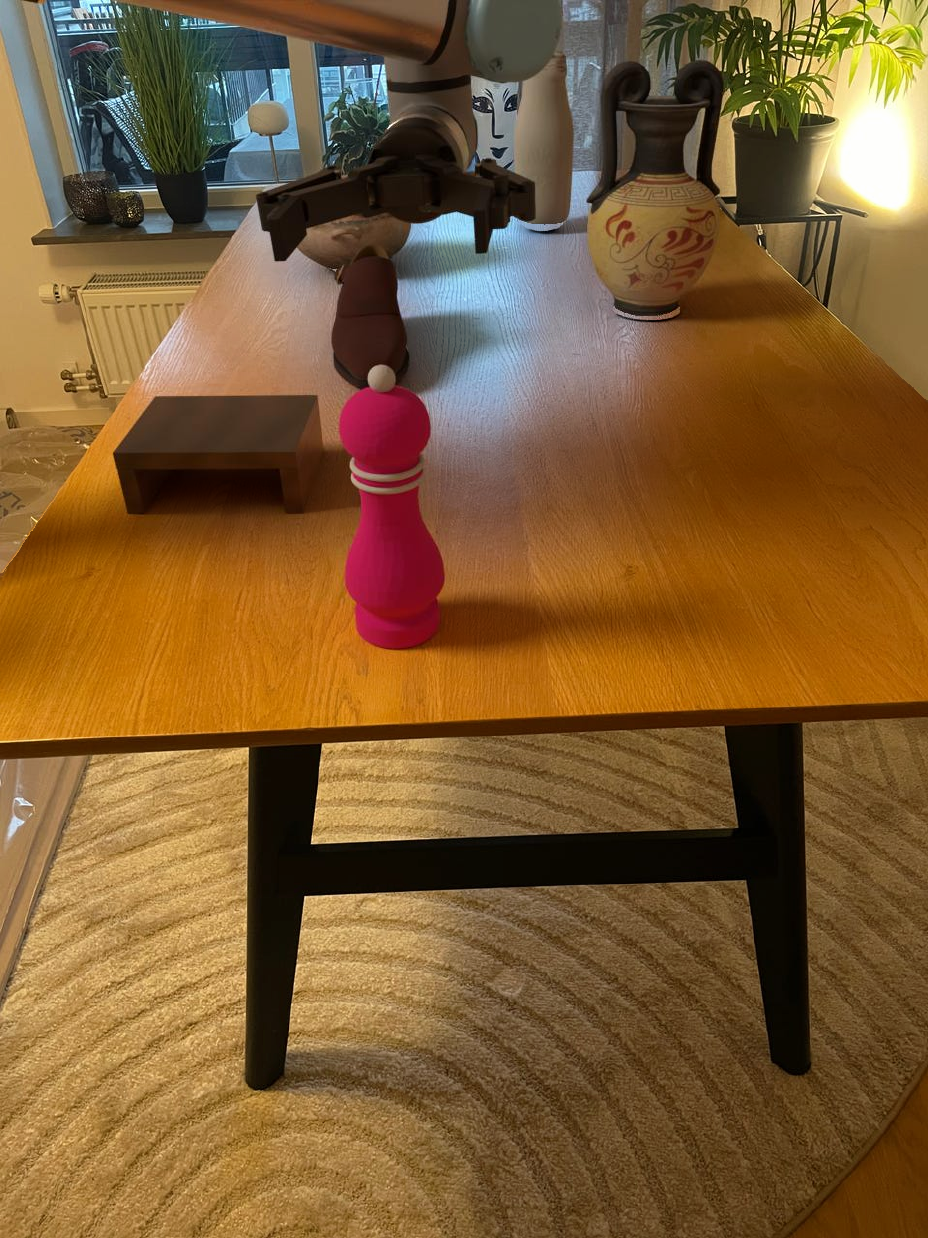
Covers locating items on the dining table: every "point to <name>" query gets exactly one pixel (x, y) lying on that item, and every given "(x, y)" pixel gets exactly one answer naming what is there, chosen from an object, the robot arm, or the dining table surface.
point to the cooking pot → (353, 238)
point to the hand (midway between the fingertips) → (376, 236)
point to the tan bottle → (546, 140)
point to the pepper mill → (390, 516)
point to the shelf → (222, 442)
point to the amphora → (655, 189)
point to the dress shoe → (368, 318)
